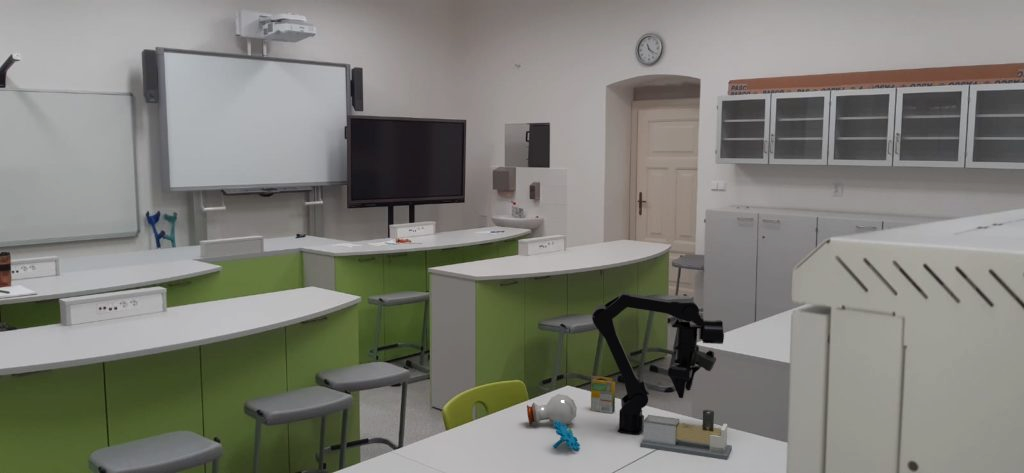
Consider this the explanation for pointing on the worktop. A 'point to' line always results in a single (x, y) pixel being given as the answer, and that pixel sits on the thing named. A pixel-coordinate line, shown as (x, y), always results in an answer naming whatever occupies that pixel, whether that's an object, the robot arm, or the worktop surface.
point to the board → (689, 448)
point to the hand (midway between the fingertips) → (684, 394)
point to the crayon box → (602, 395)
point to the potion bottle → (553, 410)
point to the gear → (565, 436)
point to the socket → (719, 441)
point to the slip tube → (698, 429)
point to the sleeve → (660, 430)
